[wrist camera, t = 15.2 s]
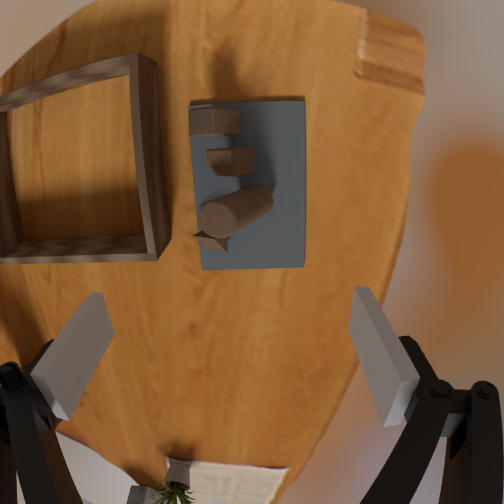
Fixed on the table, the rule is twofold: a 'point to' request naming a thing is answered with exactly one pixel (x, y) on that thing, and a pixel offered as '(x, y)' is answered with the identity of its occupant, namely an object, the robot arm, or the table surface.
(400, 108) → the table surface
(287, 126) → the mat
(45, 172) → the table surface
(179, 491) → the house plant
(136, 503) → the hard drive box
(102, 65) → the crate
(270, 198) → the wooden block set
